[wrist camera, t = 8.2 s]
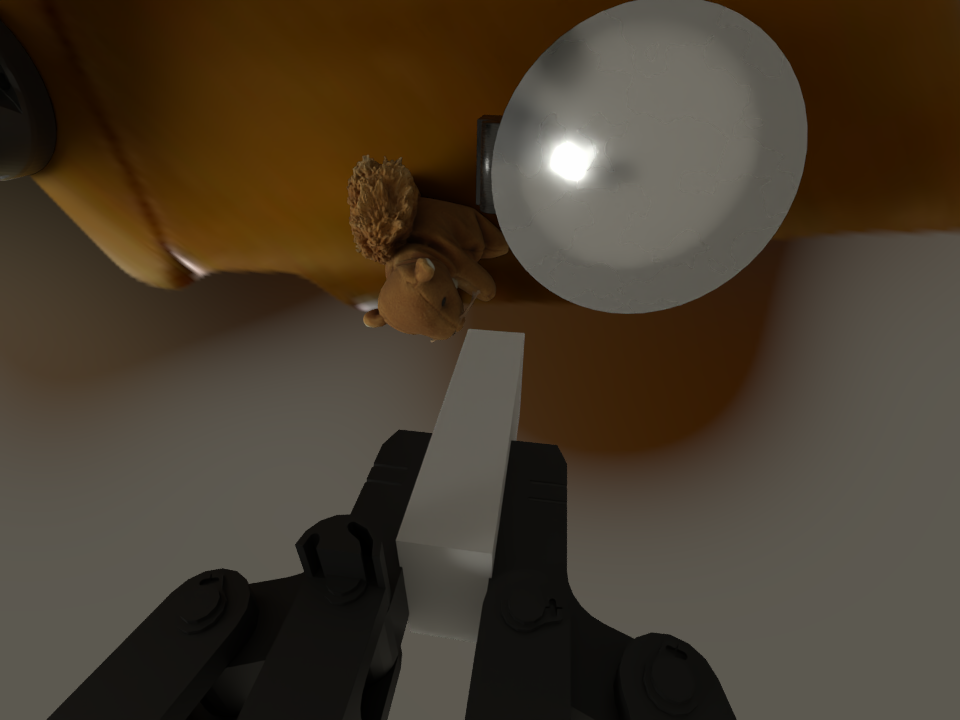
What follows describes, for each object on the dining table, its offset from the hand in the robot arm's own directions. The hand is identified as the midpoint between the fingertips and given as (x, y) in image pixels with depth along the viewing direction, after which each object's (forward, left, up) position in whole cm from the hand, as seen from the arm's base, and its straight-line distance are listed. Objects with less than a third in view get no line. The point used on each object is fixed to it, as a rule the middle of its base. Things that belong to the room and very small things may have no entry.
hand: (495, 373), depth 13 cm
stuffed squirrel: (-4, -11, -29) cm, 31 cm away
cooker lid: (+2, +4, -16) cm, 17 cm away
